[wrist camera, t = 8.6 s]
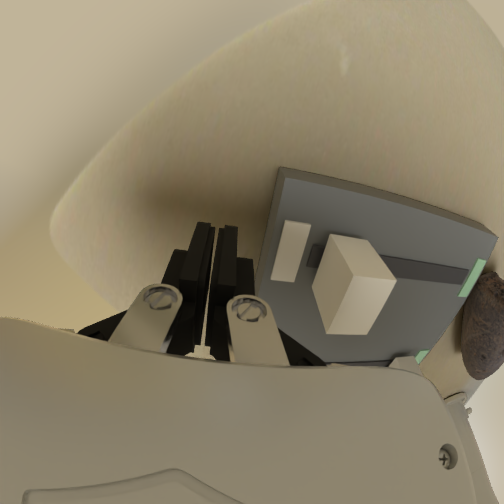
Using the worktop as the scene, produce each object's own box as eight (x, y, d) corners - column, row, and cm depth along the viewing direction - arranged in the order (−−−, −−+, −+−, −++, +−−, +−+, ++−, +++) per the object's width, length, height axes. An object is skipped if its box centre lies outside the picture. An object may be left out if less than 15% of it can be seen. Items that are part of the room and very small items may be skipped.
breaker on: (413, 355, 18) (428, 386, 15) (395, 377, 19) (407, 407, 16) (395, 357, 17) (409, 390, 15) (377, 379, 19) (388, 411, 16)
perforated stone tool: (476, 341, 23) (500, 383, 17) (443, 361, 24) (465, 407, 18) (499, 242, 16) (548, 290, 10) (459, 266, 17) (509, 325, 11)
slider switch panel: (482, 224, 14) (499, 238, 13) (396, 367, 23) (403, 384, 21) (279, 166, 13) (285, 178, 11) (235, 368, 21) (234, 390, 19)
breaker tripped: (367, 240, 12) (396, 280, 9) (346, 290, 14) (366, 334, 11) (329, 233, 12) (353, 275, 9) (311, 286, 13) (326, 334, 11)
